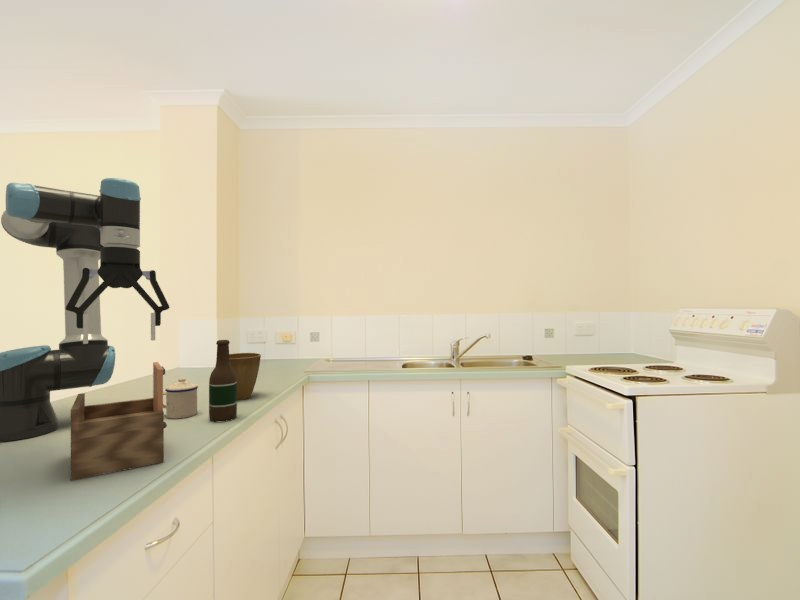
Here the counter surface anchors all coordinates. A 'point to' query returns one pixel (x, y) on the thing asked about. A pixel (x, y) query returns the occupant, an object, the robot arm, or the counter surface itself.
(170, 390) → the teacup with lid
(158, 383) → the orange rectangular slab
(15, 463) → the counter surface
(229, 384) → the beer bottle
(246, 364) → the plant pot
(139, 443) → the tray
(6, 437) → the robot arm
